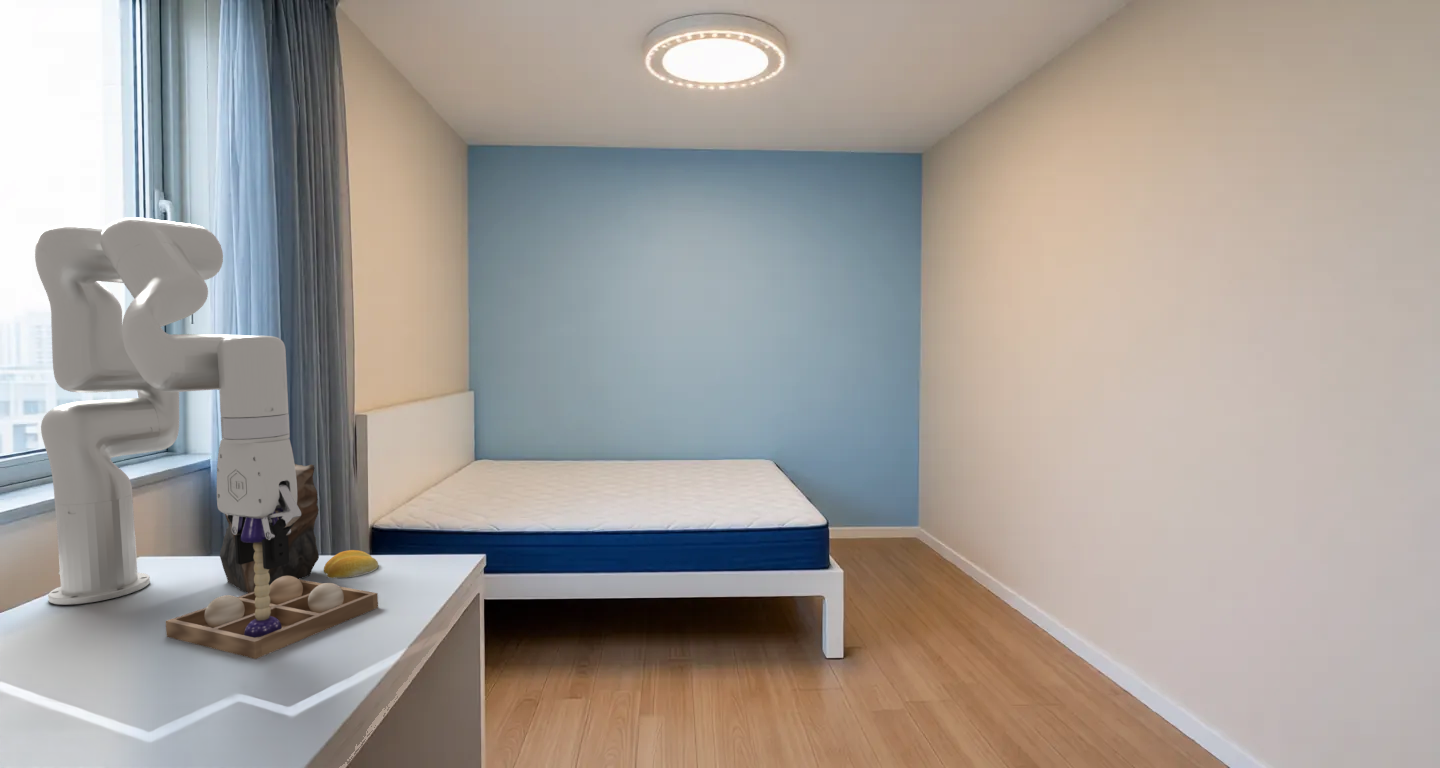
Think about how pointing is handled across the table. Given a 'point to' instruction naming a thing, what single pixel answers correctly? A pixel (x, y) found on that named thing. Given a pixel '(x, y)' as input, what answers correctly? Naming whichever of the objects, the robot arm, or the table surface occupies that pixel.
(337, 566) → the bread roll
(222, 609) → the egg
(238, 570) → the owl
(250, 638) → the organizer
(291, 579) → the egg
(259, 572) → the toy lamp
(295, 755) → the table surface
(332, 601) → the egg
